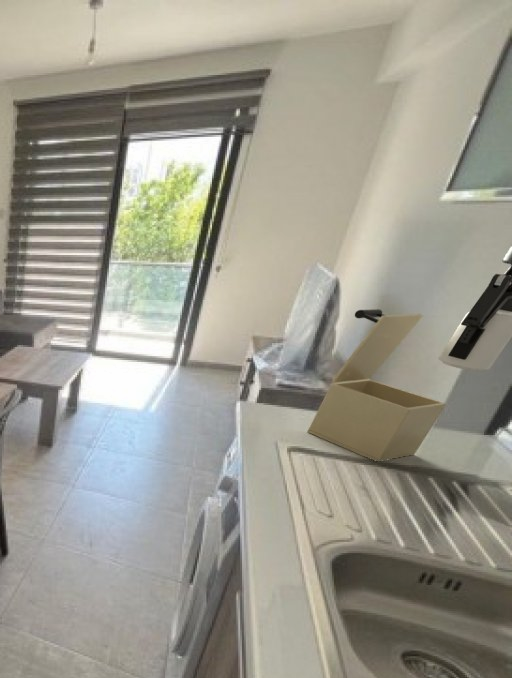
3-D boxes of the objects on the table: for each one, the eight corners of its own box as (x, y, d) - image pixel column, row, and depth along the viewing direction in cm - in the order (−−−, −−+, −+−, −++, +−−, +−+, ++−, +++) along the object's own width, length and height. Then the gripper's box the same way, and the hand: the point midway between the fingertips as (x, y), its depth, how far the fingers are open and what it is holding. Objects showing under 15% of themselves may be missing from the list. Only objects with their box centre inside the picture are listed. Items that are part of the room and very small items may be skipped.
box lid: (423, 315, 114) (390, 301, 120) (385, 317, 109) (352, 302, 115) (370, 378, 125) (342, 363, 131) (333, 382, 120) (306, 366, 126)
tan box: (414, 454, 119) (447, 403, 112) (377, 462, 114) (409, 409, 107) (342, 426, 132) (368, 379, 126) (307, 431, 128) (331, 383, 121)
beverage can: (491, 369, 105) (529, 314, 99) (483, 374, 101) (522, 317, 95) (441, 358, 111) (474, 305, 105) (432, 362, 107) (466, 308, 101)
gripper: (542, 242, 100) (473, 348, 111) (486, 240, 93) (418, 353, 104) (596, 247, 94) (517, 359, 105) (540, 245, 87) (462, 365, 98)
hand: (468, 356), depth 105 cm, fingers closed on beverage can, 8 cm apart
